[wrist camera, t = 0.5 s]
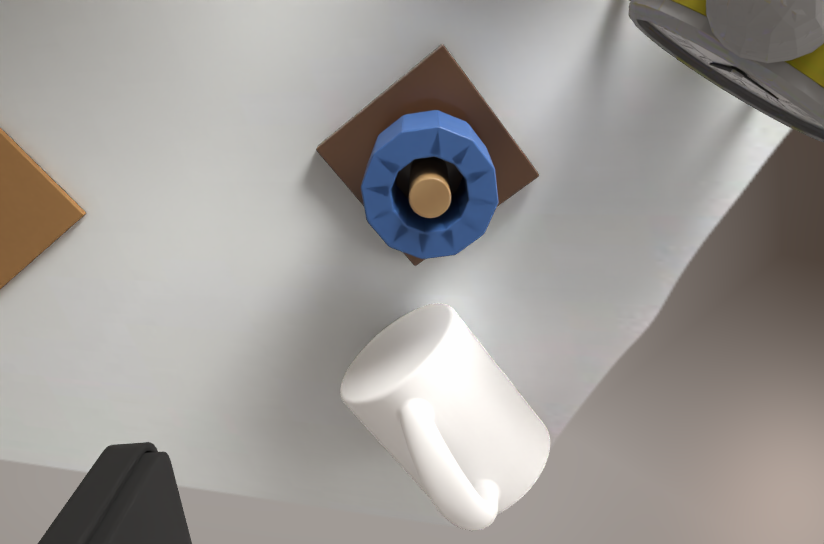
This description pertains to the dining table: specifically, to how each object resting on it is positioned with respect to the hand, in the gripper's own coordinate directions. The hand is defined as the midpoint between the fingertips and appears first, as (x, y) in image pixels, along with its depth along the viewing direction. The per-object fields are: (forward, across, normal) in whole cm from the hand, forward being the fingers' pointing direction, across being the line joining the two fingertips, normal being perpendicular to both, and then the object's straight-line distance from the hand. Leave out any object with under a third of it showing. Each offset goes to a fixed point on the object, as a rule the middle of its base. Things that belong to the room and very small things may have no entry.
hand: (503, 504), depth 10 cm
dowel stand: (+32, +1, +2) cm, 32 cm away
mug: (+32, +1, +16) cm, 36 cm away
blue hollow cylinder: (+29, +1, +2) cm, 29 cm away
